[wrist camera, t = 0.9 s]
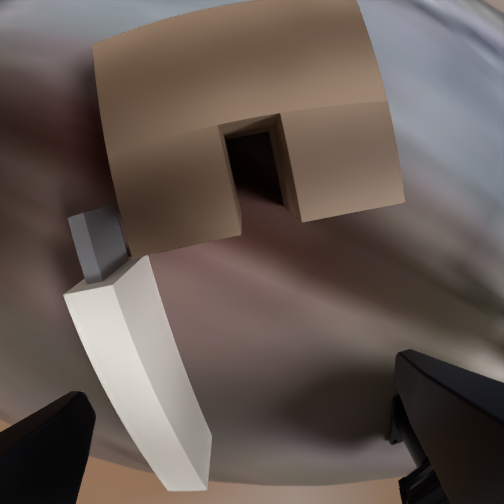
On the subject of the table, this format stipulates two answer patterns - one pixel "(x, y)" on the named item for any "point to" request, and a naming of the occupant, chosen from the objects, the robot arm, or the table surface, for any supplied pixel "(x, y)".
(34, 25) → the table surface
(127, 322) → the white curved bar
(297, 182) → the tan notched block
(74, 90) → the table surface
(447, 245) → the table surface
